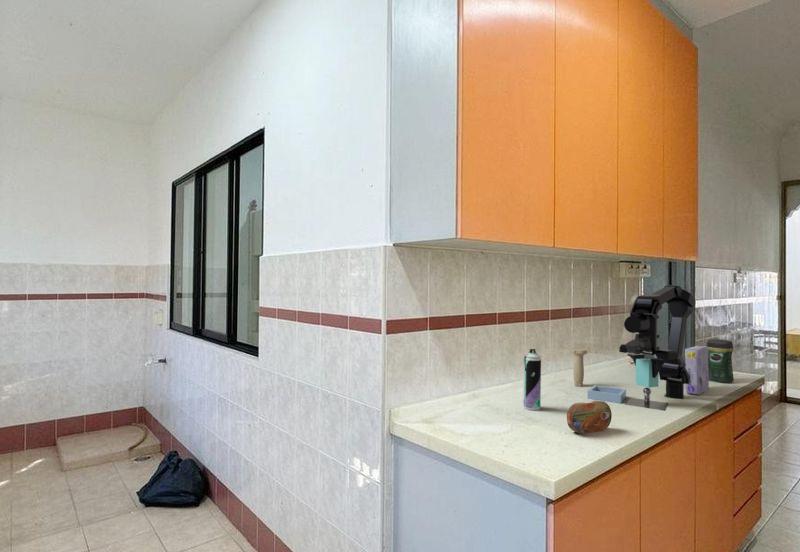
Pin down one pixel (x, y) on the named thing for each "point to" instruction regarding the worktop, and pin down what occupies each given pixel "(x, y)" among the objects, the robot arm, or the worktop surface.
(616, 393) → the bin
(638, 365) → the turquoise rectangular block
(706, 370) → the cake pan box
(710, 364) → the coffee jar
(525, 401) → the spray can
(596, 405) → the tin
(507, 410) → the worktop surface
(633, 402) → the ball stud
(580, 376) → the handle
